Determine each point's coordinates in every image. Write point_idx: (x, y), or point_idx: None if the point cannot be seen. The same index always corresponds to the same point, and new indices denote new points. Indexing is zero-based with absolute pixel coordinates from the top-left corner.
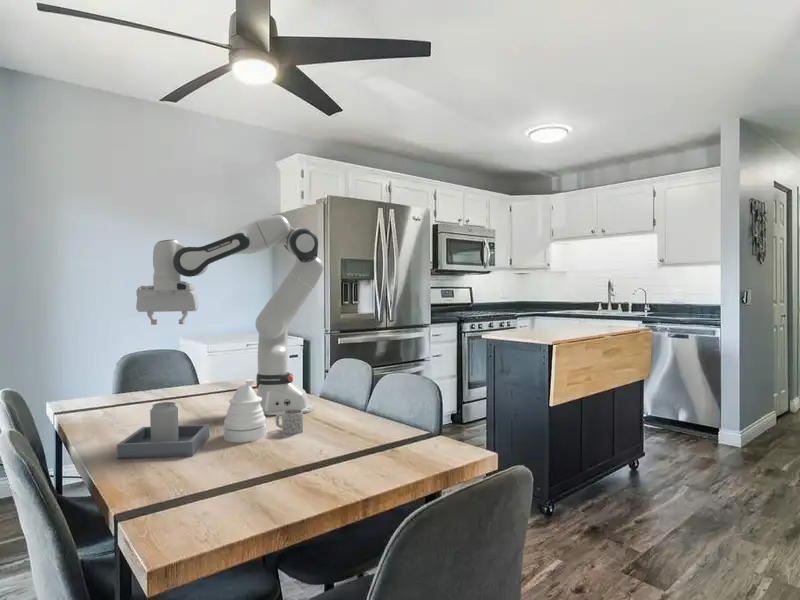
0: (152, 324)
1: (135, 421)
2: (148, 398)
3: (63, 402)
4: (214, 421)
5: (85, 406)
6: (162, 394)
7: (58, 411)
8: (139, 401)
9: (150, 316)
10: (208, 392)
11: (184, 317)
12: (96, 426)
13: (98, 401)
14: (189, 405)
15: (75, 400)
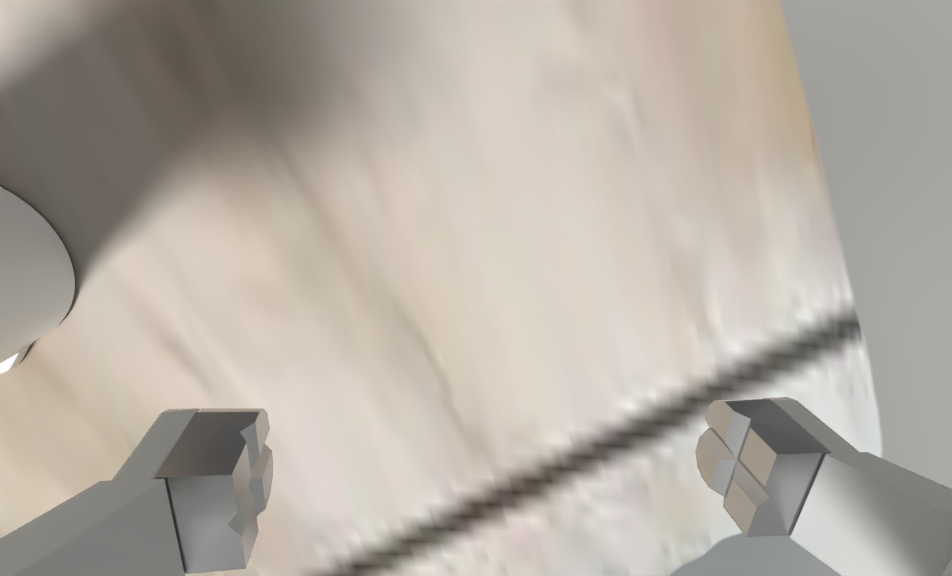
0: (760, 400)
1: (562, 150)
2: (596, 495)
3: None
4: (197, 78)
5: None
6: (561, 544)
7: (854, 348)
8: (618, 457)
9: (936, 501)
10: (399, 565)
11: (41, 541)
12: (695, 94)
13: None
14: (413, 383)
15: None
